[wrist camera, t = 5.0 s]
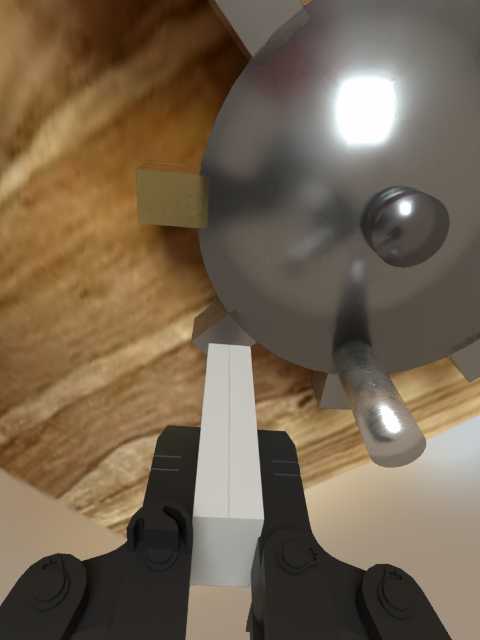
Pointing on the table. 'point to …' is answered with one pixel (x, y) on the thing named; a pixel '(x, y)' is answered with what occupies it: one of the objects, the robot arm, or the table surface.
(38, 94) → the table surface
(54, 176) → the table surface
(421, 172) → the sprocket
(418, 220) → the hub
